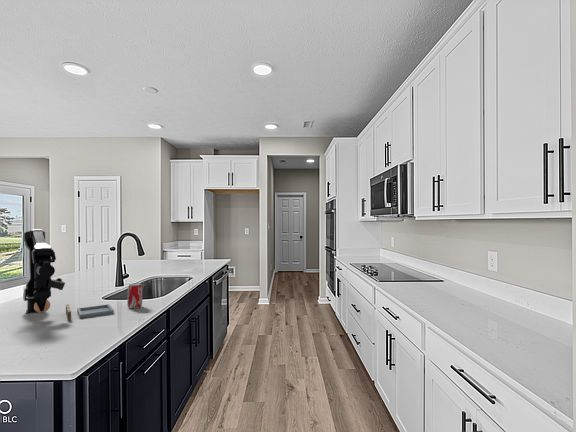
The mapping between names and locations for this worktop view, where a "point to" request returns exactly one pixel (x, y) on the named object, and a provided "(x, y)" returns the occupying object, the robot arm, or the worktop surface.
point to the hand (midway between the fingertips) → (42, 309)
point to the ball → (44, 308)
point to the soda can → (134, 295)
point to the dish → (94, 311)
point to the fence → (68, 312)
